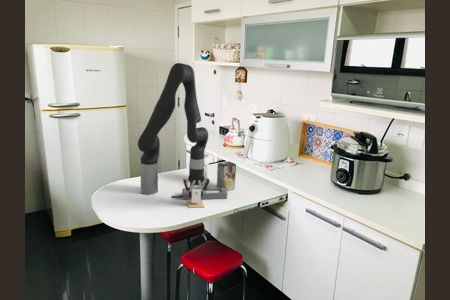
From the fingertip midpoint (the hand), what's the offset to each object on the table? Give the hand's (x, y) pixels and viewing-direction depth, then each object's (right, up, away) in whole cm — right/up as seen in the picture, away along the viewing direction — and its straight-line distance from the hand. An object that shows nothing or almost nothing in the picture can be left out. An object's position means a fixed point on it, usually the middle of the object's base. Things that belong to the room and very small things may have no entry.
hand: (195, 197), depth 169 cm
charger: (0, -2, +1) cm, 2 cm away
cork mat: (0, -4, +1) cm, 4 cm away
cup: (0, +4, +32) cm, 32 cm away
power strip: (+1, -1, +11) cm, 11 cm away
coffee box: (+16, +1, +23) cm, 28 cm away
